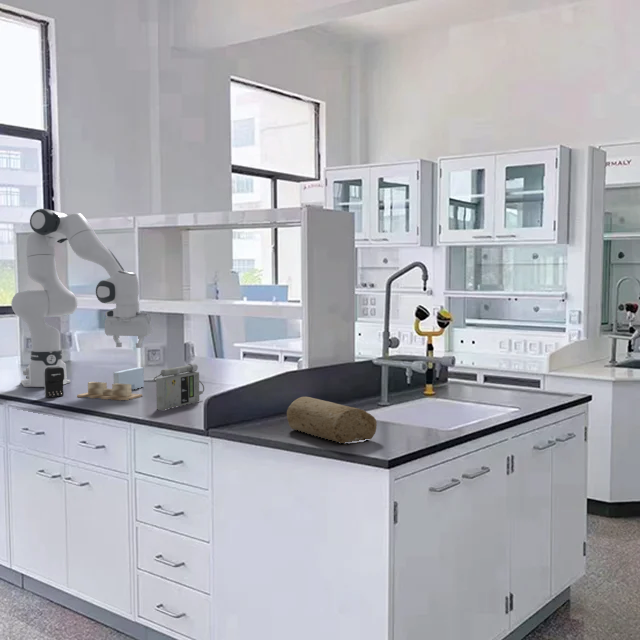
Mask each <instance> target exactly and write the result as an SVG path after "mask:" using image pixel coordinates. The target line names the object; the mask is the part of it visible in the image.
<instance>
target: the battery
mask: <svg viewBox="0 0 640 640" xmlns="http://www.w3.org/2000/svg"><path fill="white" fill-rule="evenodd" d="M63 380H64V369H63V368H62V367H60V366H50V367H46V368H45V369H44V387H43V388H44V398H57V396H59V397H63V396H64V395H65V394H64V393H65V392H64V385H63Z"/></svg>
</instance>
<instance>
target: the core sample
mask: <svg viewBox="0 0 640 640" xmlns="http://www.w3.org/2000/svg"><path fill="white" fill-rule="evenodd" d="M286 417H287V418H286V419H287V422H288V426H289V427H290V429H292V430H294V429H295V430H294V431H297V430H298V431H297V432H300V431H301V432H300V433H303V432H305V433H304V434H306V433H307V434H306V435H309V434H311V435H310V436H313V435H314V436H313V437H316V436H318V437H317V438H319V437H321V438H320V439H322V438H325V439H324V440H326V439H328V440H327V441H329V440H332V441H331V442H333V441H336V442H335V443H337V442H340V443H339V444H341V443H345V442H352V441H359V440H365V439H370V440H371V439H372V438H373V437H374V436H375V434H376V431H377V424H378V423H377V420H376V418H375V416H373V415H372V413H371V414H370V413H369V412H367V411H366V410H364V409H362V408H358V407H353V406H348V405H343V404H340V403H337V402H332V401H328V400H322V399H319V398H314V397H310V396H301V397H298V398H296V399H294V401H293V402H291V404H290V405H289V406H288V407H287V410H286Z"/></svg>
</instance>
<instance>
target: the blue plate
mask: <svg viewBox="0 0 640 640" xmlns="http://www.w3.org/2000/svg"><path fill="white" fill-rule="evenodd" d="M144 369H145V368H144V367H142V366H141V367H140V366H138V367H133V368H128V369H122V370H119V371H114V372H113V373H112V374H113V375H112V377H113V384H116V383H119V384H131V390H134V389H135V390H137V388H139V389H142V388H141V387H143V388H145V375H144Z"/></svg>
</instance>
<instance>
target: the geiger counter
mask: <svg viewBox="0 0 640 640" xmlns="http://www.w3.org/2000/svg"><path fill="white" fill-rule="evenodd" d="M198 369H199V366H198V364H197V363H194V362H193V363H188V364H187V365H182V366H181V365H180V366H177V367H171V368H164V369H162V370H161V371H160V373H159V374H158V375H156V376H155V377H154V378H153V382H155V384H156V385H155V386H156V388H155V389H156V410H157V409H158V410H157V411H160V410H164V411H166V410H165V409H168V408H172V407H176V406H180V407H183V406H182V405H184V406H187V405H186V404H188V405H191V404H190V403H192V404H196V403H199V402H200V395H202V394H204V391H205V386H204V384H203V382H202V381H201V380H200V372H199V371H198ZM200 385H201V386H202V390H200ZM198 401H199V402H198ZM195 402H196V403H195ZM176 408H177V407H176ZM172 409H173V408H172ZM168 410H169V409H168Z"/></svg>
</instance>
